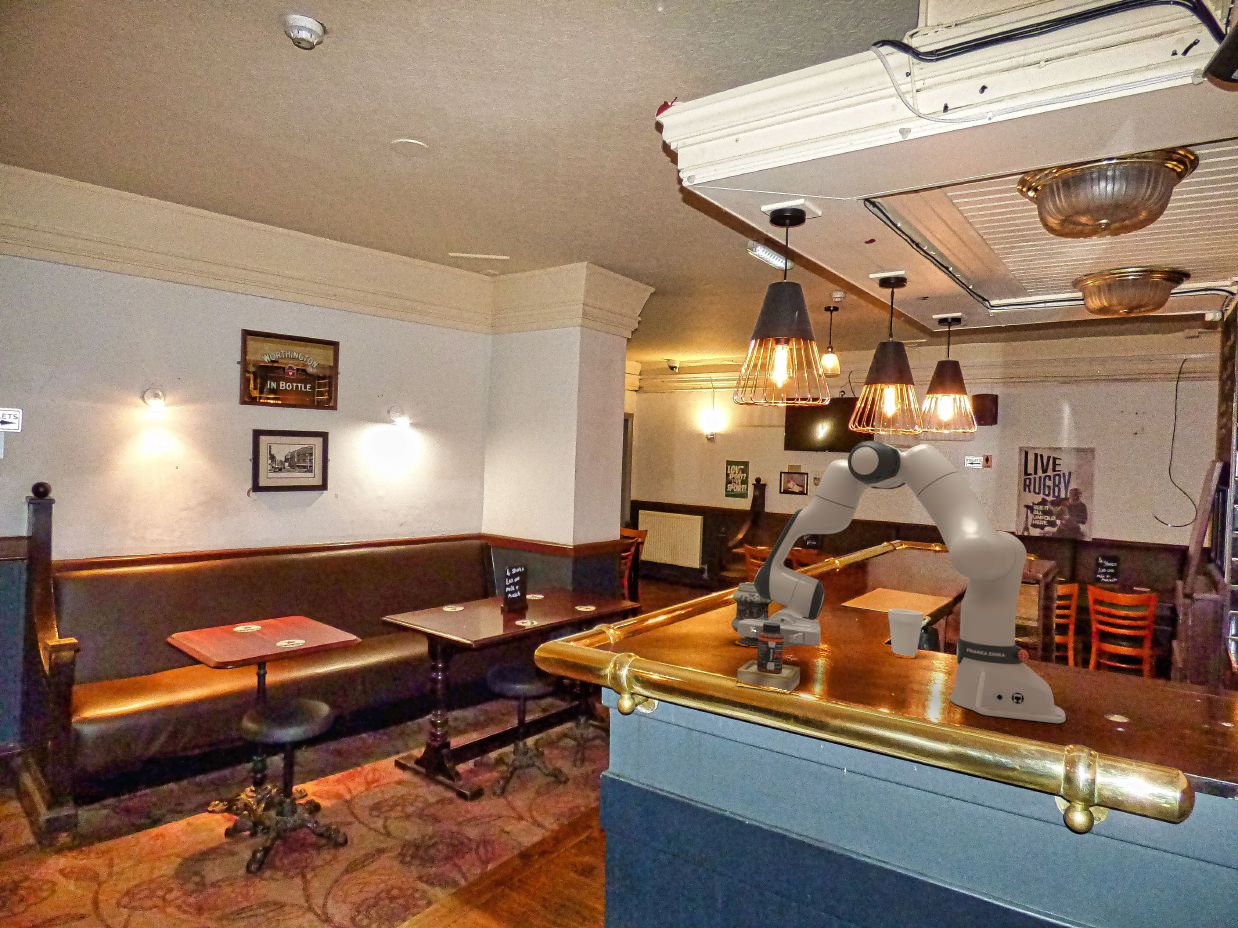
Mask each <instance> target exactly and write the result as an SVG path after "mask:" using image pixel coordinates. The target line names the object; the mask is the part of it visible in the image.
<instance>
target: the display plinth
mask: <svg viewBox="0 0 1238 928" xmlns="http://www.w3.org/2000/svg"><path fill="white" fill-rule="evenodd" d="M736 672H737V673H736V681H737V680H740V681H743V682H747V683H752V684H756V685H762V686H769V687H775V688H778V689H782V690H787V691H791V692H792V691H794V689H795V688H797V686H799V684H800V681H801V680H800V678H801V674H800V673H801V666H796V665H788V664H782V672H781V673H779V674H770V673H763V672H760V671H758V670H757V660H754V659H750V660H749V661H747V662H746V663H745V664H743V665H741V666H740V667H738V669H737V671H736Z"/></svg>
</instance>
